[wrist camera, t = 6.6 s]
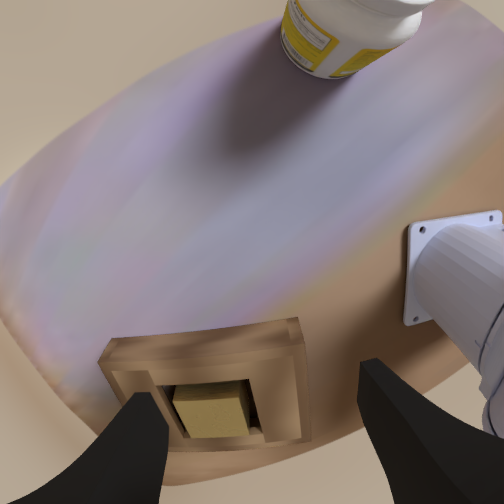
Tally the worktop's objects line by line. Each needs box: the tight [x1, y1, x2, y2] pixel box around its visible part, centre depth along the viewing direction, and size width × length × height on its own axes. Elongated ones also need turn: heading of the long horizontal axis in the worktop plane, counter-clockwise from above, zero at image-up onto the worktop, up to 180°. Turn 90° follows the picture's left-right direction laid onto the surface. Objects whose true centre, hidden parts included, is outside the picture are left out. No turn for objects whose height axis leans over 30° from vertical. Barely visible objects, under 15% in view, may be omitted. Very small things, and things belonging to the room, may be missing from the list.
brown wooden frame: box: [98, 317, 311, 452], centre depth 21 cm, size 14×11×3 cm
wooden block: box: [173, 379, 250, 438], centre depth 20 cm, size 4×4×4 cm
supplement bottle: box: [280, 0, 435, 79], centre depth 10 cm, size 5×5×10 cm
